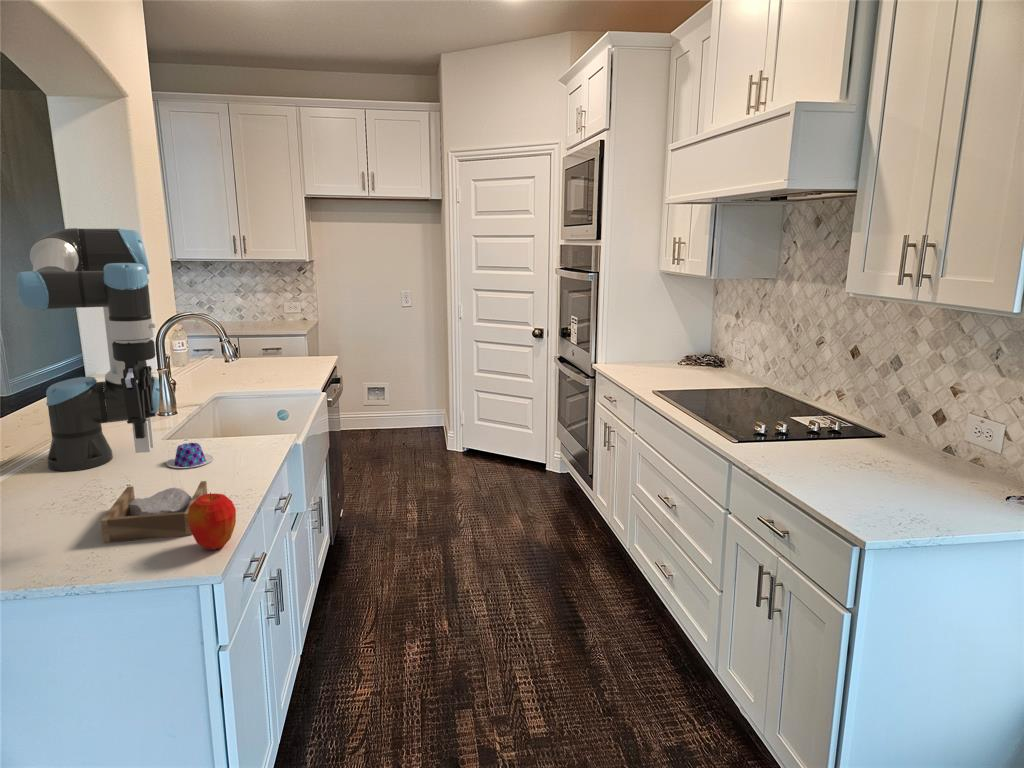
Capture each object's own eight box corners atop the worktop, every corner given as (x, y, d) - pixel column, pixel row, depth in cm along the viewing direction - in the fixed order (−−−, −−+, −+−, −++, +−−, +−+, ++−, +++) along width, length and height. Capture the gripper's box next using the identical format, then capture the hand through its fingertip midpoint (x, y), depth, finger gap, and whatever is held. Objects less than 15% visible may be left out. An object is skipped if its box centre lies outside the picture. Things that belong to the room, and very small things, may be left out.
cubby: (130, 506, 154) (127, 486, 153) (208, 500, 159) (206, 481, 158) (103, 543, 136) (100, 520, 135) (192, 534, 141) (190, 513, 139)
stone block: (199, 517, 154) (179, 498, 159) (199, 499, 152) (178, 481, 158) (146, 535, 145) (127, 515, 151) (145, 517, 143) (125, 497, 149)
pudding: (212, 467, 181) (211, 449, 180) (164, 472, 177) (162, 454, 176) (214, 454, 192) (212, 437, 191) (168, 458, 188) (167, 441, 186)
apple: (183, 545, 136) (178, 491, 133) (227, 532, 142) (223, 480, 139) (200, 561, 129) (195, 505, 127) (245, 547, 136) (241, 493, 133)
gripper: (143, 345, 127) (155, 460, 132) (162, 334, 141) (172, 437, 147) (99, 346, 125) (114, 462, 130) (123, 334, 139) (135, 439, 145)
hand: (145, 449), depth 138 cm, fingers open, 2 cm apart
